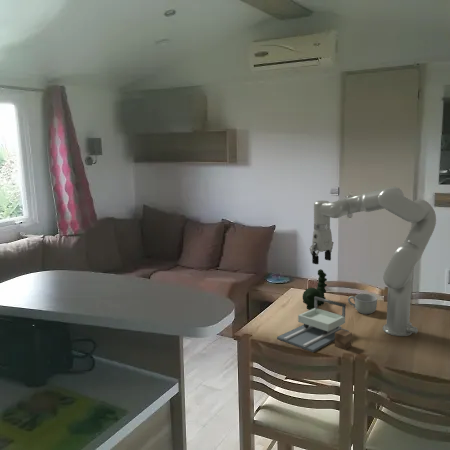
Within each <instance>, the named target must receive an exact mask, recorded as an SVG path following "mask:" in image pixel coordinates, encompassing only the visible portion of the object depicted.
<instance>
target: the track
mask: <svg viewBox="0 0 450 450" xmlns="http://www.w3.org/2000/svg"><path fill="white" fill-rule="evenodd" d="M342 327H343V326H342V325H340V326H339V327H338V328H334V329H332V330H330V331H329V332H327V334H323V332H322V331H323V330H322V329H319V328H316V327H313V326H310V325H309V327H308V328H305V327H304V324H302V325H300V326H298V327H296V328H293V329H291V330H289V331H287V332H285V333H283V334H281V335H277V337H276V338H277V340H279V341H281V342H284V343H287V344H290V345H292V346H295V347H297V348H300V349H303V350H305V351H309V352H311V353H315V352H316V351H318V350H319V349H321V348H324V347H326V346H327V345H329V344H331V343H334V342H335V332H337V331H339V330H341V329H342V330H345V331H349V330H348V329H344V328H342Z"/></svg>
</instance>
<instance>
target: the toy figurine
mask: <svg viewBox="0 0 450 450" xmlns="http://www.w3.org/2000/svg"><path fill="white" fill-rule="evenodd" d="M317 276H318V278H317V281H318V282H317V284H316V285H317V287H316V288H315V287H308V288H306V289H305V290H304V291H303V293H302V302H303V304H305V305H306V309H307V311H309V310H311V309H314V297H315V296H316V297H320V298H324V299H327V298H326V296H325V293H326V292H327V289H326V287H327V286H328V285H327V283H326V282H327V280H328V278H326V276H327V273H325V271H324V270H323V269H318V270H317ZM323 305H325V302H323V301H319V300H317V307H321V306H323Z"/></svg>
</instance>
